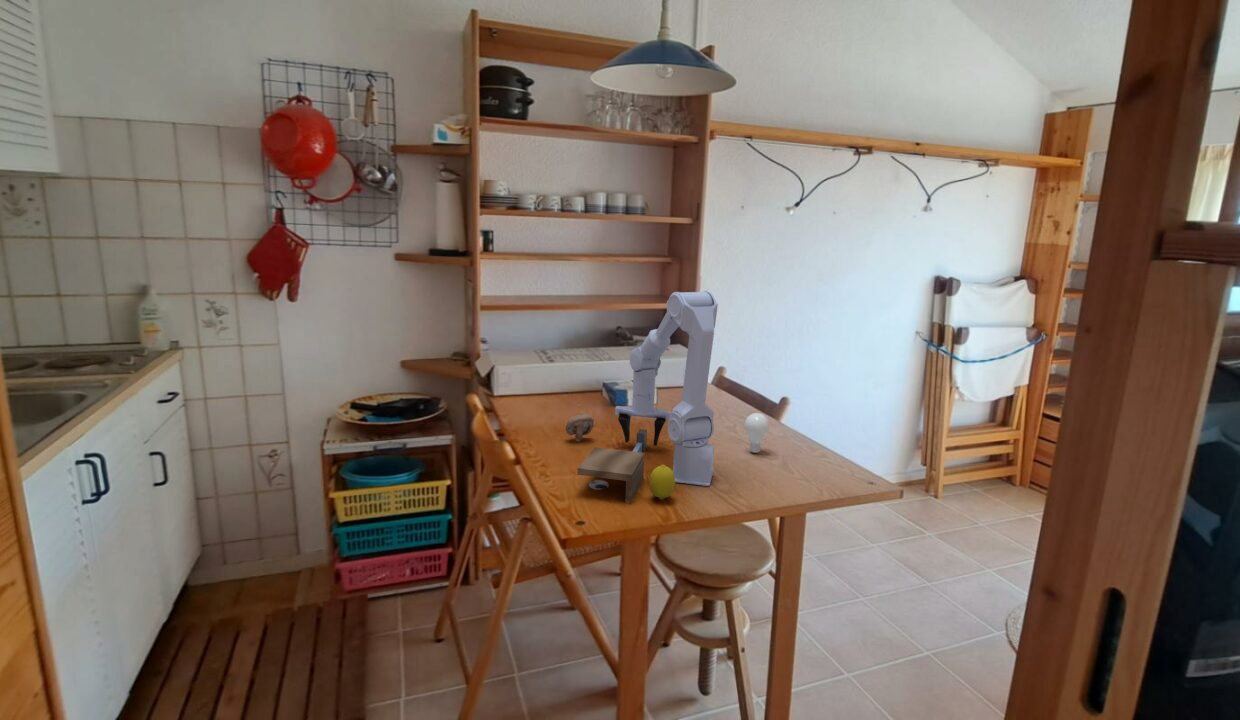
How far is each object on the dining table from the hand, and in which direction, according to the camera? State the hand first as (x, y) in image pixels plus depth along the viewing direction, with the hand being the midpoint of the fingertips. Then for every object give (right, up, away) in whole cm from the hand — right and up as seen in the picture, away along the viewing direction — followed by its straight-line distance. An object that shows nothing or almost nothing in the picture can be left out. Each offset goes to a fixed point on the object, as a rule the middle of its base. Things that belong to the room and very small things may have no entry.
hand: (641, 442), depth 170 cm
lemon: (+3, -9, -31) cm, 32 cm away
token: (-11, -7, -24) cm, 27 cm away
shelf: (-8, -7, -25) cm, 27 cm away
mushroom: (-17, 0, +5) cm, 18 cm away
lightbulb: (+30, -3, +1) cm, 30 cm away
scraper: (-2, -3, -7) cm, 8 cm away
